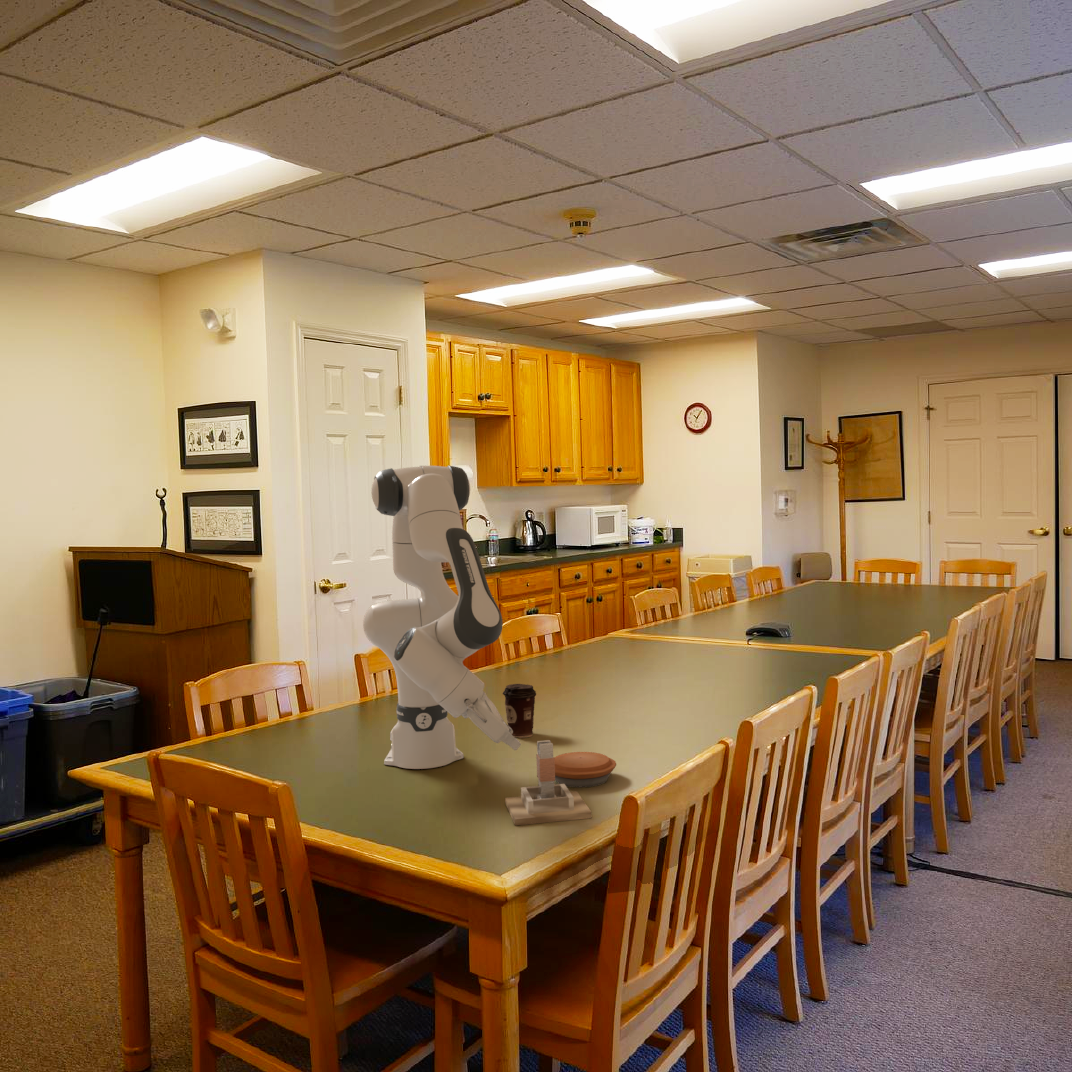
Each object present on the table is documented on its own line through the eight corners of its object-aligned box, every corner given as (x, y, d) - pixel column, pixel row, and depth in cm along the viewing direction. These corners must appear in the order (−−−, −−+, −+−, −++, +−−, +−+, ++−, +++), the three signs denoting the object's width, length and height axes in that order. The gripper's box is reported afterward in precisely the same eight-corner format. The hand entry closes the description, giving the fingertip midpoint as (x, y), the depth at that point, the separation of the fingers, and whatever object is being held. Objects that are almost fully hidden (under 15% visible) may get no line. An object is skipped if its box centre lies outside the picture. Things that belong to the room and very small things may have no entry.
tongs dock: (505, 803, 194) (504, 785, 194) (577, 797, 197) (576, 779, 197) (515, 825, 182) (514, 806, 181) (591, 818, 184) (590, 799, 184)
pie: (612, 768, 217) (611, 746, 217) (620, 789, 201) (620, 766, 201) (544, 771, 216) (543, 749, 216) (548, 792, 201) (547, 769, 201)
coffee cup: (508, 740, 243) (506, 690, 242) (500, 733, 251) (498, 684, 250) (541, 737, 245) (539, 687, 244) (532, 729, 253) (530, 681, 252)
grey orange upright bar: (535, 801, 191) (533, 740, 190) (554, 800, 192) (552, 739, 191) (539, 809, 187) (537, 746, 186) (558, 807, 187) (556, 744, 187)
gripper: (480, 694, 175) (534, 742, 178) (468, 672, 195) (516, 716, 198) (457, 719, 175) (511, 767, 177) (447, 695, 195) (496, 739, 197)
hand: (514, 740), depth 188 cm, fingers open, 8 cm apart
